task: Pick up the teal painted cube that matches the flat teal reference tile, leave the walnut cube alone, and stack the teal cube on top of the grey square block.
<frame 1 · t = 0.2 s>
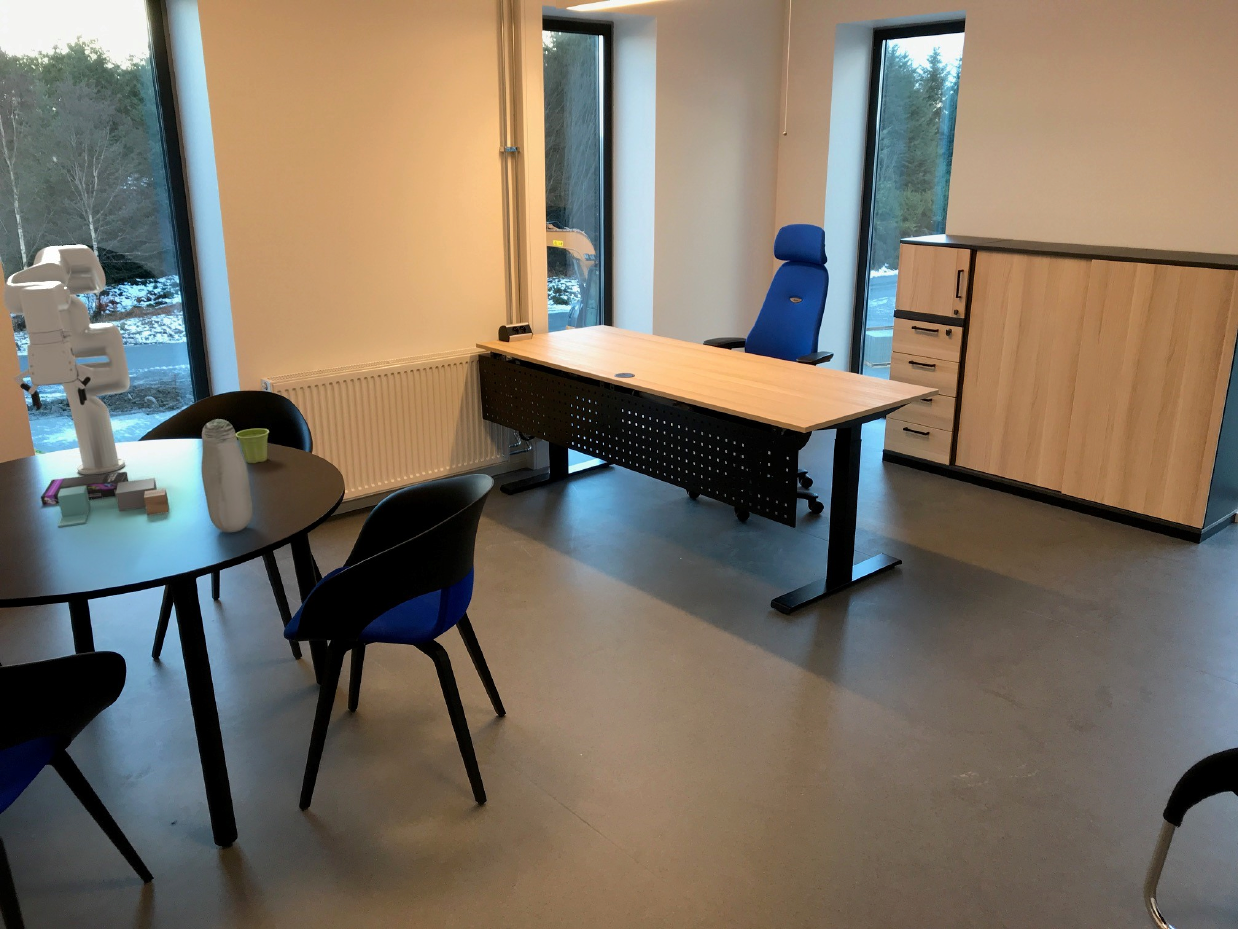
hand: (61, 406, 246), 30 cm above the table, tool pointing down, fingers open, 9 cm apart
reference tile: (73, 521, 254), on the table
plant pot: (256, 460, 298), on the table
teal cube: (76, 512, 260), on the table
walnut cube: (158, 510, 260), on the table
grey square block: (139, 502, 265), on the table
white bottle: (234, 530, 245), on the table
box: (87, 494, 275), on the table
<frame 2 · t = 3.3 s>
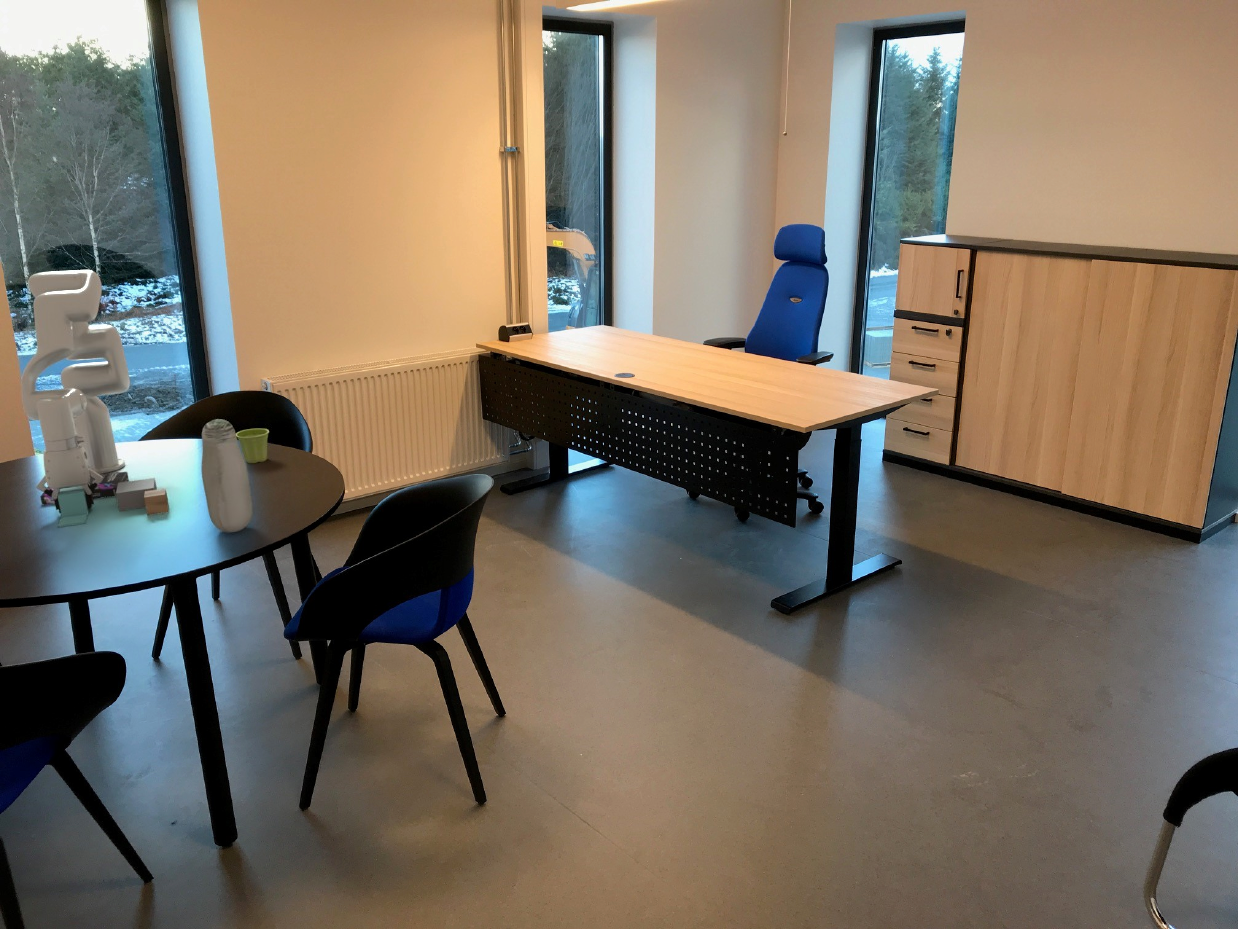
hand: (75, 509, 260), 1 cm above the table, tool pointing down, fingers closed on teal cube, 6 cm apart
teal cube: (76, 512, 260), on the table, touching gripper
everything else where it was.
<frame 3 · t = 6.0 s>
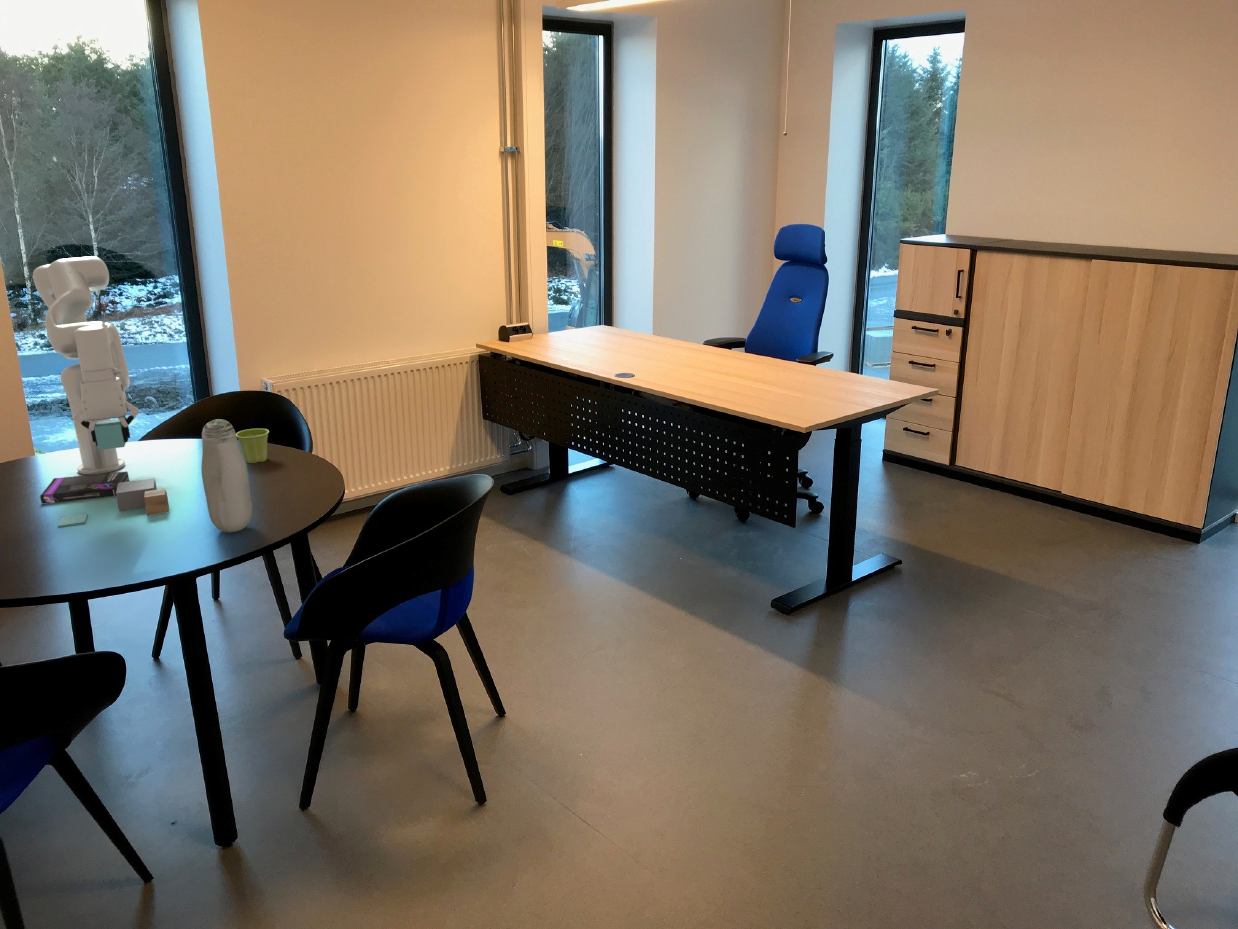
hand: (112, 441, 259), 18 cm above the table, tool pointing down, fingers closed on teal cube, 6 cm apart
teal cube: (112, 445, 259), point 17 cm above the table, touching gripper
everything else where it was.
when the fingers open (7 cm above the table, at t = 8.7 s): teal cube drops 1 cm, resting on grey square block.
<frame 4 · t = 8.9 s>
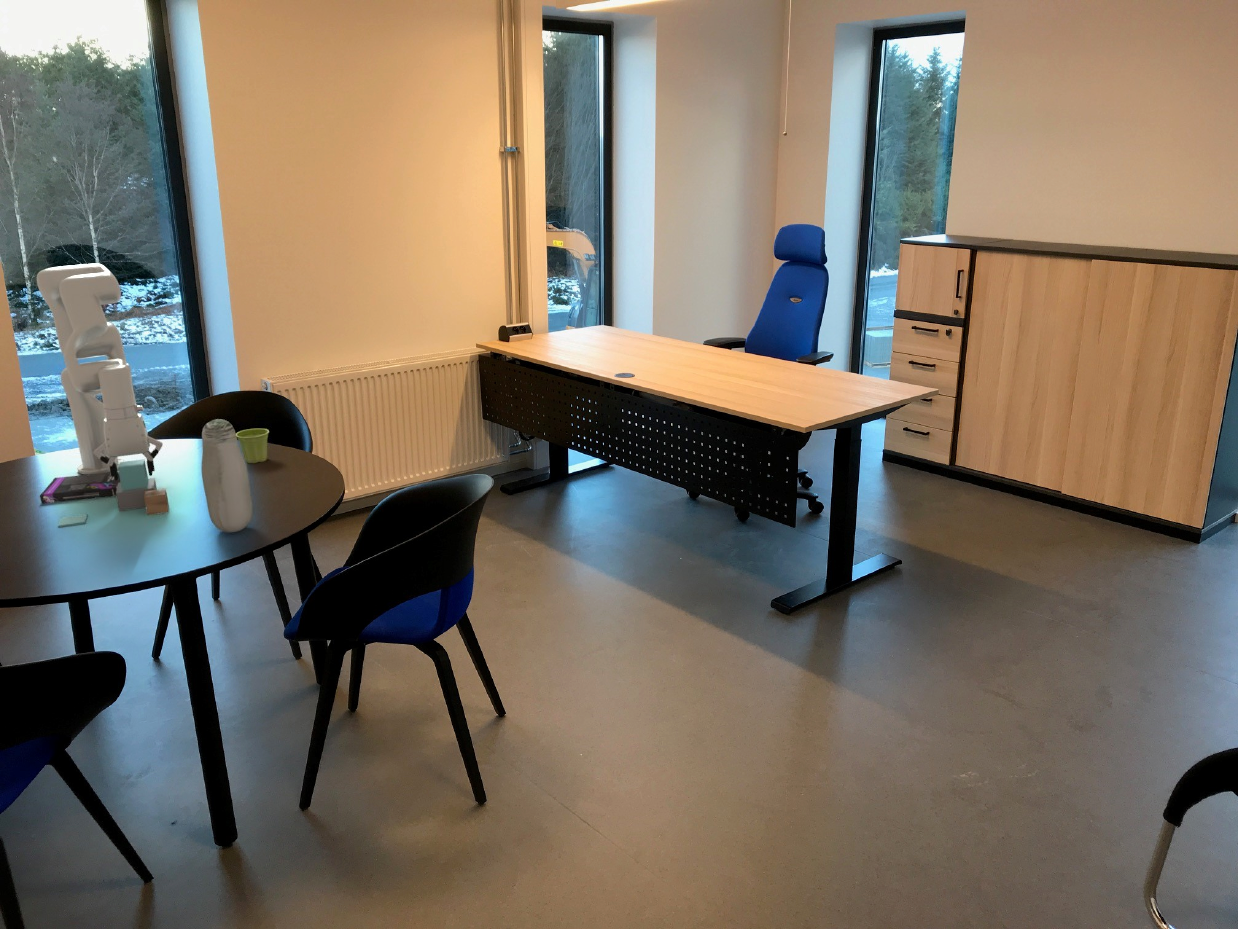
hand: (133, 476, 263), 8 cm above the table, tool pointing down, fingers open, 7 cm apart
teal cube: (135, 485, 264), point 5 cm above the table, touching grey square block
everything else where it was.
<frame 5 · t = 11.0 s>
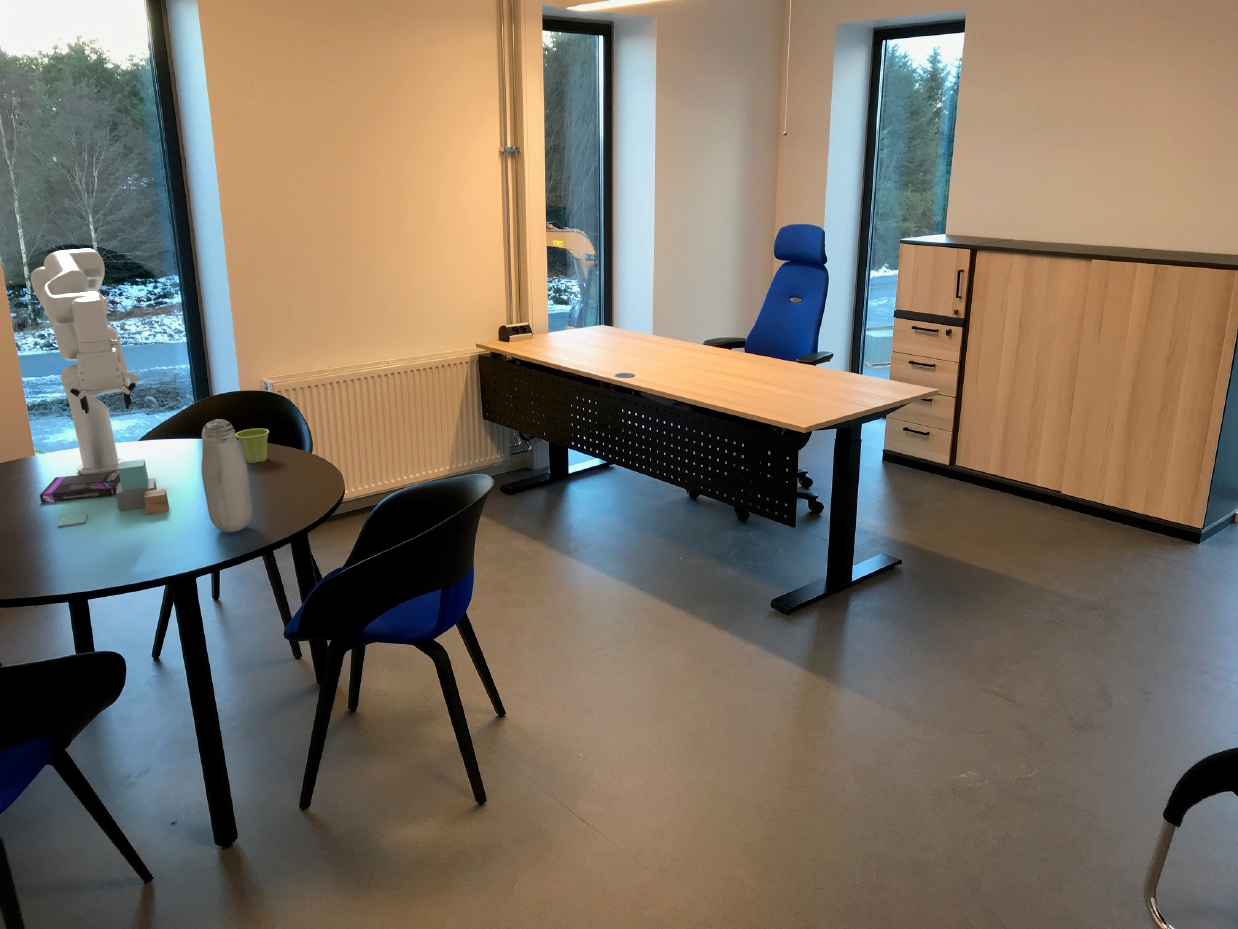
hand: (107, 409, 261), 25 cm above the table, tool pointing down, fingers open, 9 cm apart
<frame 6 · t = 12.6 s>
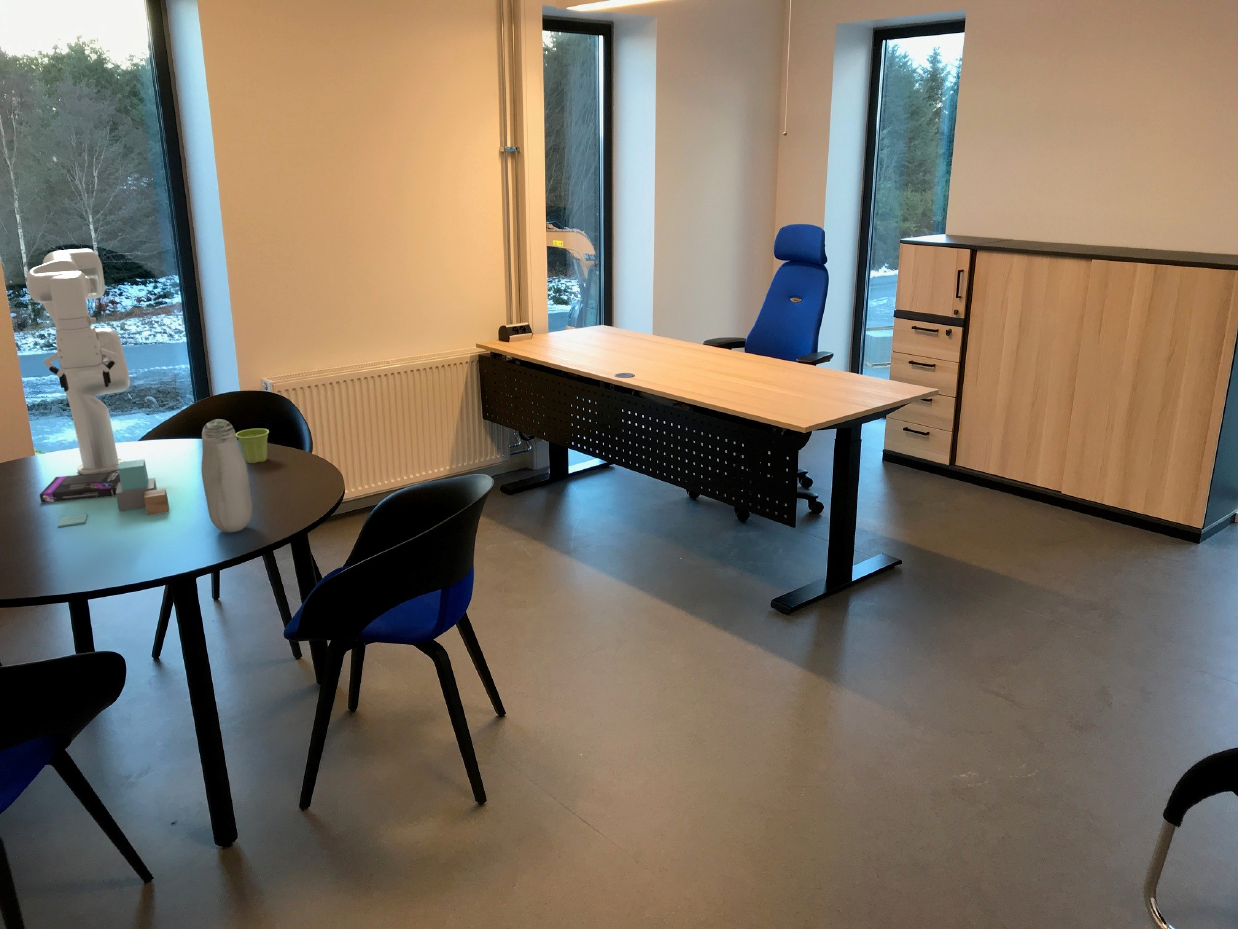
hand: (87, 388, 262), 30 cm above the table, tool pointing down, fingers open, 9 cm apart
at the end: teal cube 0.0 cm off-centre on the grey square block, point 5.0 cm above the grey square block's base; teal cube tilted 0°; the gripper is holding nothing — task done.
